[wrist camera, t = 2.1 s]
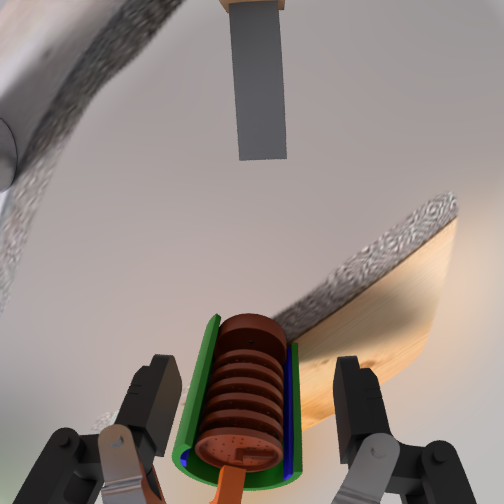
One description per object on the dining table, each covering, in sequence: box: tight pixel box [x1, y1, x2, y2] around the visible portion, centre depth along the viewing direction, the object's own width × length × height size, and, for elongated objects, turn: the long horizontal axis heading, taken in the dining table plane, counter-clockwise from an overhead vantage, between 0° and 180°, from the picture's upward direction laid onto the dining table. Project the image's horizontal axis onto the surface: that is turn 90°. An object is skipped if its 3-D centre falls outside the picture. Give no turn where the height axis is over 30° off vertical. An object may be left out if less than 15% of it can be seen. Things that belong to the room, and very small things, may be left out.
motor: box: [172, 313, 303, 504], centre depth 26 cm, size 10×9×20 cm
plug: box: [219, 0, 287, 161], centre depth 19 cm, size 17×4×5 cm, turn 4°
